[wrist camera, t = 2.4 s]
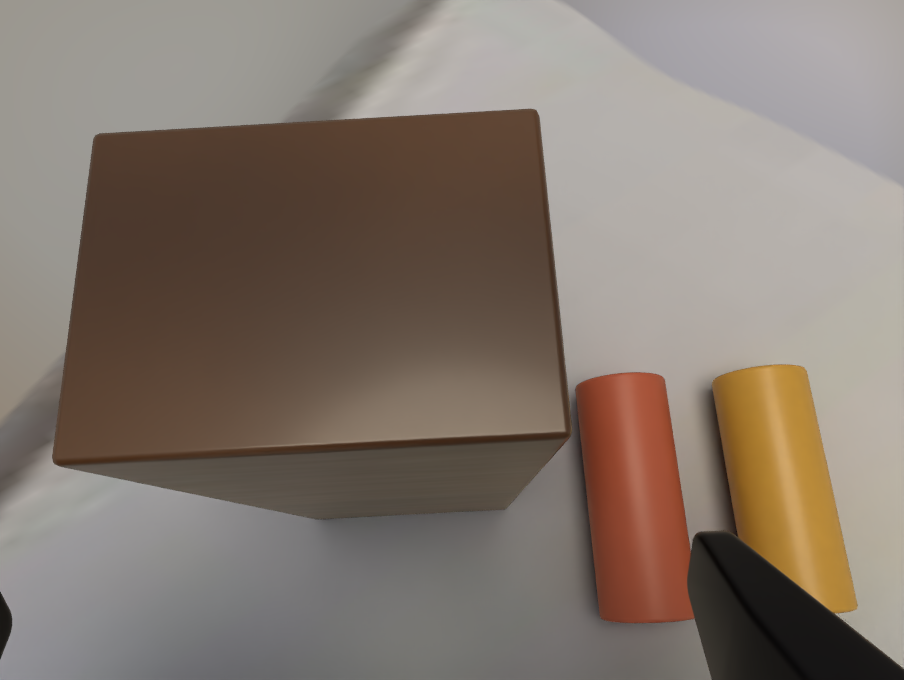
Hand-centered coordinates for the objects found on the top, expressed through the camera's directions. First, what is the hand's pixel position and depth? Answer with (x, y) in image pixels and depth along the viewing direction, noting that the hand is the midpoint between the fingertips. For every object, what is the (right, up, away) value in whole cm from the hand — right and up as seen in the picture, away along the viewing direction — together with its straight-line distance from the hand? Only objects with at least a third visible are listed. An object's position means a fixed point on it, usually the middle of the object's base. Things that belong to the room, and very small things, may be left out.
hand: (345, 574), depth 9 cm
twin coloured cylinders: (+8, -1, +10) cm, 13 cm away
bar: (0, 0, +11) cm, 11 cm away
